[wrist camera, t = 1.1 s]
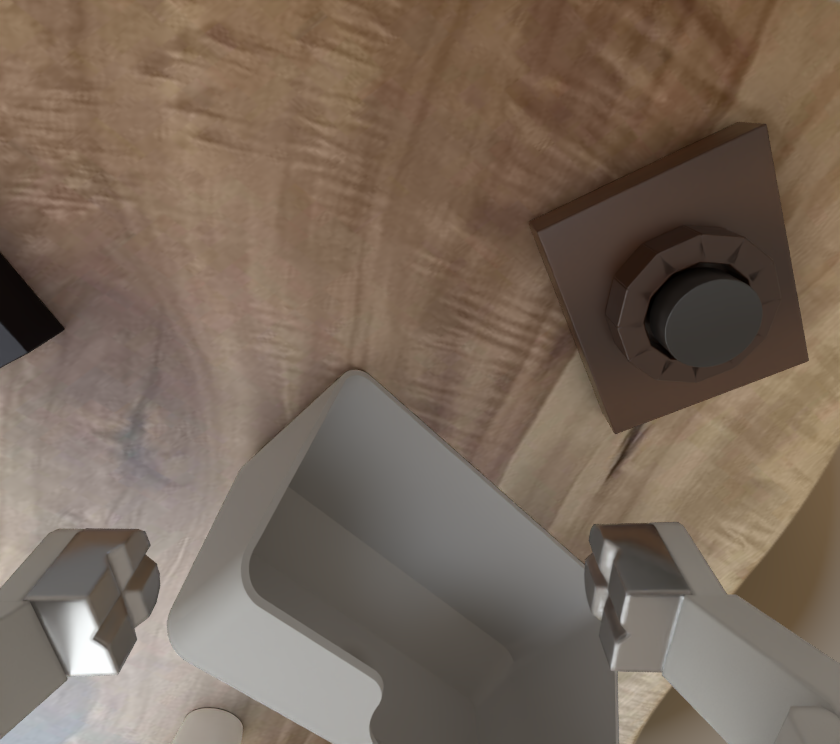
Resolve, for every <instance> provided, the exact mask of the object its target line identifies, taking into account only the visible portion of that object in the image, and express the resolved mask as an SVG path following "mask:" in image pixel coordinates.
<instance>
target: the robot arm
mask: <svg viewBox="0 0 840 744" xmlns="http://www.w3.org/2000/svg"><path fill="white" fill-rule="evenodd" d="M589 543H590V545H591V548H592V551H593V553H592V554H591V555H590V556H589V557H587V558H586V561H585V569H584V583H585V592H586V597H587V601H588V604H589V608H590V611H591V613H592V614H593V615H594V616H595V617H596V618H597V619H599V620H600V621H601V626H600V631H599V638H600V641H601V644H602V647H603V650H604V653H605V655H606V658H607V661H608V664H609V667H610V670H611V671H624V672H663V673H662V676H663V677H664V678H665V679H666V680H667V681H668V682H669V683H670V684H671V685H672V686H673V687H674V688H675V689H676V690H677V691H678V692H679V693H680V694H681V695H682V696H683V697H684V698H685V699H686V700H687V701H688V702H689V704H690V705H691V706H692V707H693V708H694V709H695V710H696V711H697V712H698V713H699V714H700V715H701V716H702V717H703V718H704V719H705V720H706V721H707V722H708V723H709V724H710V725H711V726H712V727H713V728H714V730H715V731H716V732H717V733H718V734H719V735H720V736H721V737H722V738H723V739H724V740H725V741H726V742H727V743H728V744H840V663H838V662H837V661H835V660H834V659H832V658H831V657H829V656H828V655H826V654H825V653H823V652H822V651H820V650H819V649H817V648H816V647H814V646H813V645H811V644H810V643H808V642H807V641H805V640H804V639H802V638H801V637H799V636H798V635H796V634H795V633H793V632H791V631H790V630H789V629H787V628H786V627H784V626H783V625H781V624H780V623H778V622H776V621H775V620H774V619H772V618H771V617H769V616H768V615H766V614H765V613H763V612H761V611H760V610H758V609H757V608H756V607H754V606H752V605H751V604H750V603H748V602H747V601H745V600H744V599H742V598H740V597H739V596H737V595H727V593H726V592H725V590H724V589H723V587H722V585H721V584H720V582H719V581H718V579H717V578H716V576H715V574H714V573H713V571H712V570H711V568H710V566H709V565H708V563H707V562H706V560H705V559H704V557H703V555H702V554H701V552H700V551H699V549H698V548H697V546H696V544H695V543H694V541H693V540H692V538H691V537H690V535H689V533H688V532H687V530H686V529H685V527H684V526H683V525H682V524H680V523H679V522H654V523H621V524H593V526H592V528H591V531H590V536H589ZM149 547H150V542H149V540H148V537H147V535H146V532H145V531H142V530H139V529H90V528H86V529H57V530H55V531H53V532H50V533H49V534H48V535H47V536H46V537H45V538H44V539H43V541H42V542H41V543H40V544H39V545H38V546H37V547H36V548H35V550H34V551H33V552H32V553H31V554H30V555H29V556H28V558H27V559H26V560H25V561H24V562H23V563H22V564H21V565H20V567H19V568H18V569H17V570H16V571H15V572H14V573H13V575H12V576H11V577H10V578H9V579H8V580H7V581H6V582H5V584H4V585H3V586H2V587H1V588H0V739H1V738H2V737H4V736H5V735H6V734H7V733H8V732H9V731H10V730H11V729H13V728H14V727H15V726H16V725H17V724H18V723H19V722H20V721H22V720H23V719H24V718H25V717H26V716H27V715H28V714H29V713H31V712H32V711H33V710H34V709H35V708H36V707H37V706H38V705H40V704H41V703H42V702H43V701H44V700H45V699H46V698H47V697H49V696H50V695H51V694H52V693H53V692H54V691H55V690H56V689H58V688H59V687H60V686H61V685H62V684H63V683H64V682H65V681H67V677H75V676H102V675H118V674H119V672H120V670H121V668H122V666H123V665H124V663H125V661H126V659H127V657H128V655H129V653H130V652H131V650H132V648H133V646H134V644H135V642H136V641H137V637H136V633H135V629H134V628H135V627H137V626H138V625H139V624H141V623H142V622H143V621H145V620H146V619H147V618H149V616H150V614H151V612H152V610H153V608H154V606H155V604H156V602H157V598H158V593H159V589H160V573H159V570H158V567H157V564H156V563H155V562H154V561H153V560H152V559H150V558H149V557H148V556H147V555H145V554H146V552H147V550H148V549H149Z"/></svg>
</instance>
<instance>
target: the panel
mask: <svg viewBox="0 0 840 744" xmlns="http://www.w3.org/2000/svg"><path fill="white" fill-rule="evenodd" d="M62 331H64V328H63V327H62V326H61V324H60V323H59V322H58V321H57V320H56V319H55V317H54V316H53V315H52V314H51V313H50V311H49V310H48V309H47V308H46V307H45V306H44V304H43V303H42V302H41V301H40V300H39V299H38V297H37V296H36V295H35V294H34V293H33V291H32V290H31V289H30V288H29V287H28V286H27V284H26V283H25V282H24V281H23V280H22V278H21V277H20V276H19V275H18V274H17V273H16V271H15V270H14V269H13V268H12V267H11V266H10V264H9V263H8V262H7V261H6V260H5V258H4V257H3V256H2V255H1V254H0V368H1V367H3V366H5V365H7V364H9V363H11V362H12V361H14V360H16V359H18V358H20V357H22V356H24V355H26V354H28V353H29V352H31V351H32V350H34V349H35V348H37V347H39V346H40V345H42V344H43V343H45V342H46V341H48V340H50V339H51V338H53V337H54V336H56V335H57V334H59V333H60V332H62Z"/></svg>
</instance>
